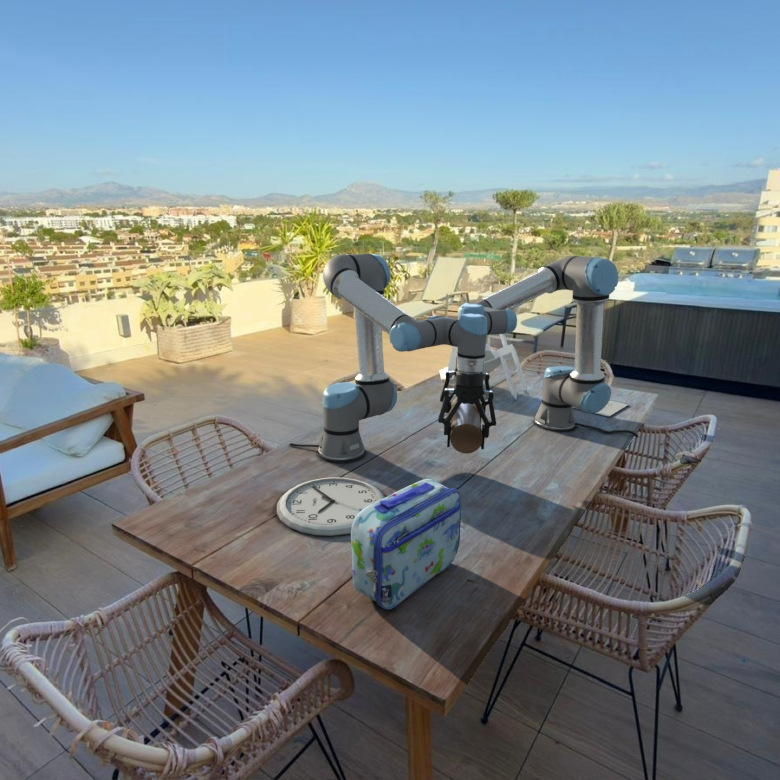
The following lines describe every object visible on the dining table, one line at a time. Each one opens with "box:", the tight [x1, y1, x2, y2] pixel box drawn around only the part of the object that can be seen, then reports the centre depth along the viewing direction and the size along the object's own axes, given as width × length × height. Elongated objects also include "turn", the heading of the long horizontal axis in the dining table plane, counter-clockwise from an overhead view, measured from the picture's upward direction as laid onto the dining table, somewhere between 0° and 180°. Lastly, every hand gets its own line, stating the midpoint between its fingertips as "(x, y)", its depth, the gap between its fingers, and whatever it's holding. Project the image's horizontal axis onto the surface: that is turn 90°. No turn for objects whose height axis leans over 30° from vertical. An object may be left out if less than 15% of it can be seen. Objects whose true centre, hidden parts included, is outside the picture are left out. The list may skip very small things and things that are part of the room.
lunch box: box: [350, 478, 462, 611], centre depth 110 cm, size 26×11×21 cm, turn 135°
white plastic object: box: [438, 334, 531, 400], centre depth 245 cm, size 37×45×31 cm
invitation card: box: [573, 400, 629, 418], centre depth 226 cm, size 21×1×15 cm
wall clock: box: [276, 476, 386, 537], centre depth 142 cm, size 30×2×30 cm
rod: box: [450, 396, 483, 454], centre depth 158 cm, size 27×9×9 cm, turn 173°
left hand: (465, 446), depth 151 cm, fingers closed on rod, 9 cm apart
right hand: (464, 423), depth 168 cm, fingers closed on rod, 9 cm apart
